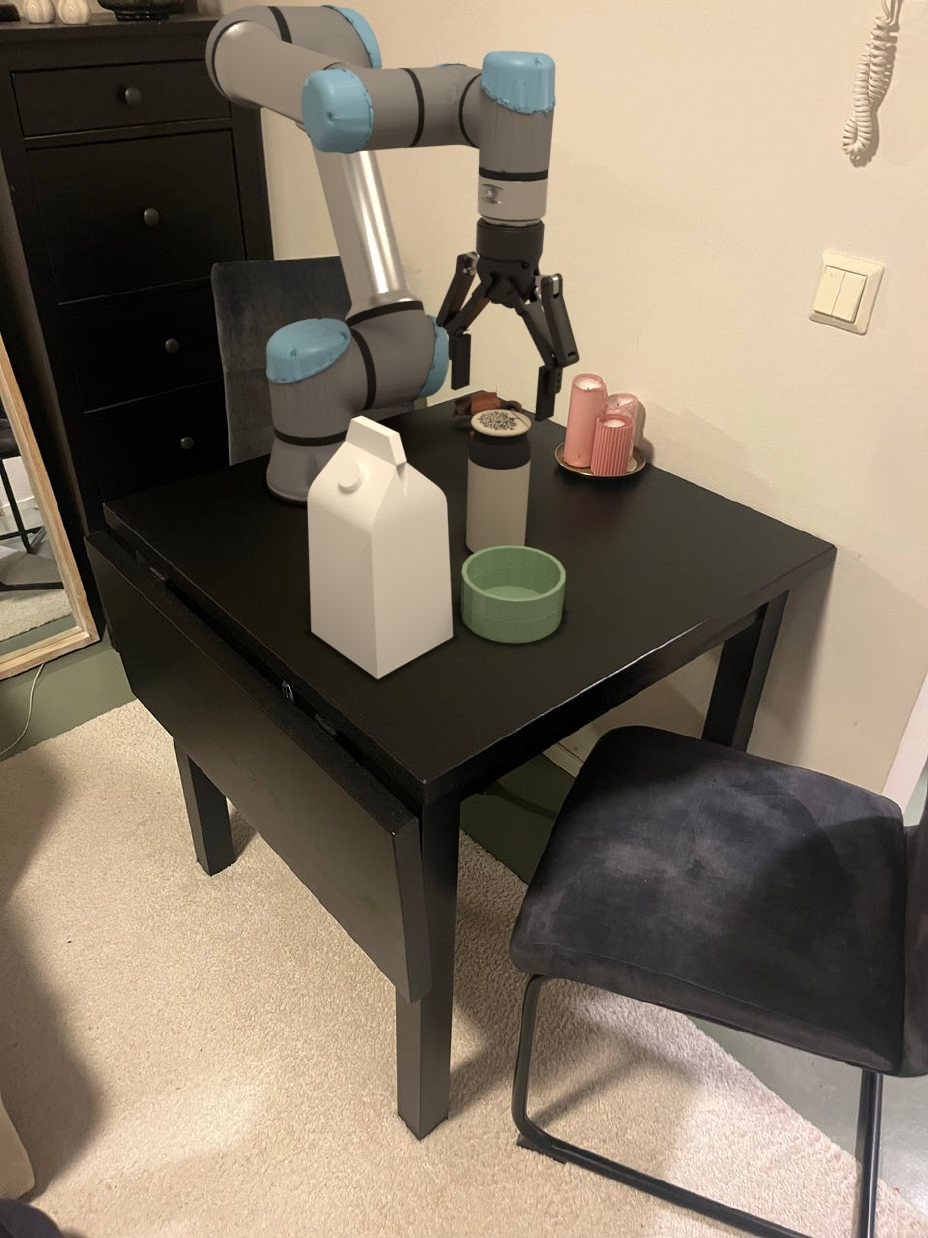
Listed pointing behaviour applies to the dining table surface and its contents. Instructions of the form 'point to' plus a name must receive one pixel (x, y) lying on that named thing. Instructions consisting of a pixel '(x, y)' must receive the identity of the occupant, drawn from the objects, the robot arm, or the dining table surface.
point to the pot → (512, 593)
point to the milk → (378, 553)
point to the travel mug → (498, 480)
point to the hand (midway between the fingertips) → (500, 402)
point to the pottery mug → (483, 405)
